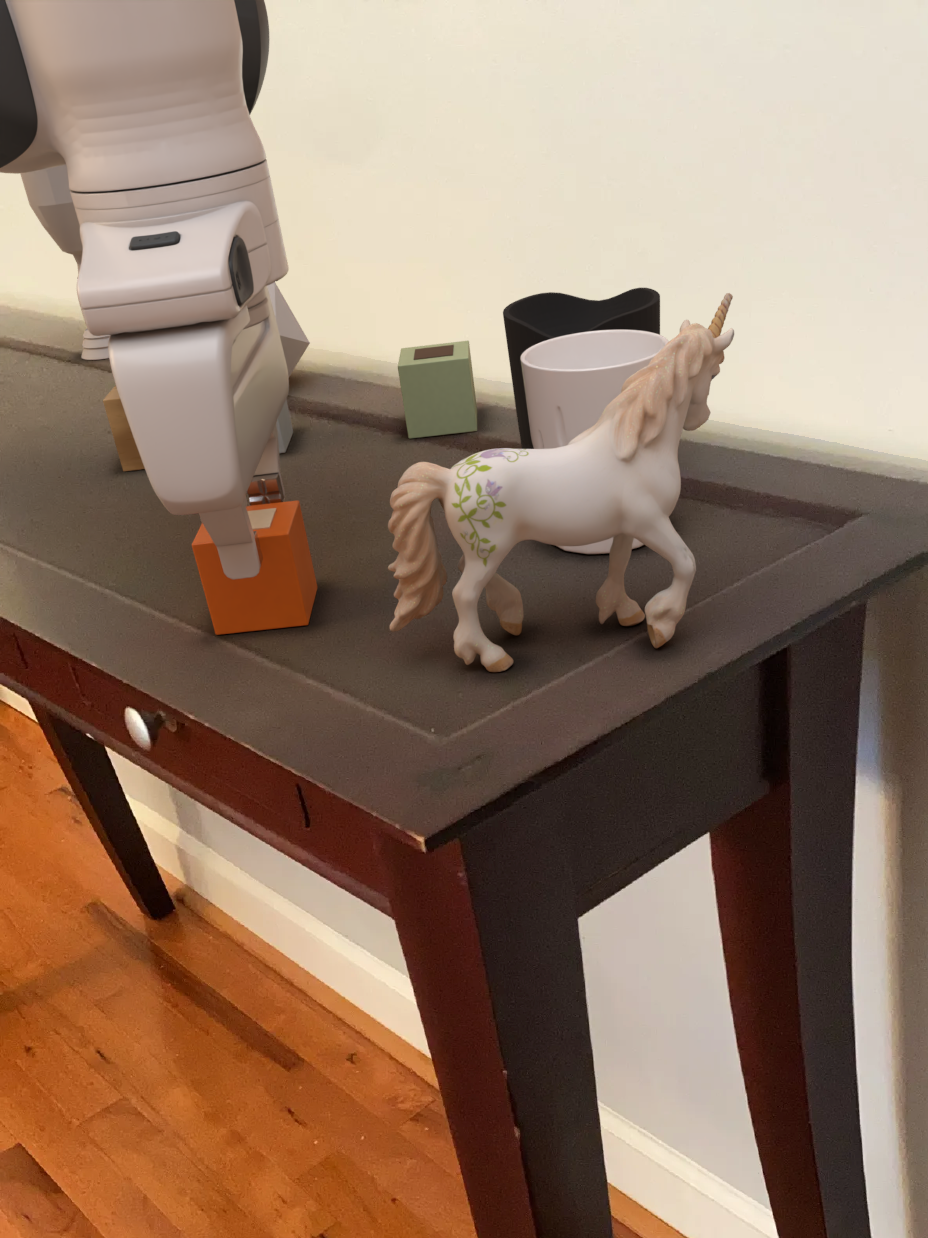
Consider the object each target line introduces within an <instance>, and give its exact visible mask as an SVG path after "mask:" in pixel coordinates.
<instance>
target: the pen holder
mask: <svg viewBox="0 0 928 1238" xmlns="http://www.w3.org/2000/svg"><path fill="white" fill-rule="evenodd" d="M502 316H503V323H504V332H505V339H506V345H507V346H506V347H507V354H508V361H509V367H510V375H511V383H512V384H511V385H512V390H513V398H514V404H515V411H516V421H517V426H518V434H519V439H520V448H521V449H534V447H533V444H532V440H531V432H530V424H529V417H528V409H527V402H526V395H525V388H524V380H523V373H522V366H521V359H520V358H521V355H522V353H523V352H524V351H525V350H527V349H528V348H530V347H531V346H533V345H535V344H538V343H540V342H543V341H546V340H549V339H552V338H556V337H560V336H565V335H569V334H575V333H581V332H589V331H599V330H640V331H647V332H652V333H656V334H659V335H661V294H660V293H659V292H658V291H657V290H655V289H653V288H651V287H635V288H631V289H629V290H626V291H624V292H622V293H619V294H617V295H615V296H612V297H609V298H606V299H600V300H596V299H587V298H583V297H579V296H575V295H572V294H568V293H562V292H555V291H554V292H553V291H552V292H551V291H550V292H540V293H536V294H532V295H529V296H525V297H523V298H520V299H518V300H515V301H513V302H511V303H509V304H508V305H506V307H504V308H503V311H502Z"/></svg>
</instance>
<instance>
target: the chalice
mask: <svg viewBox="0 0 928 1238" xmlns="http://www.w3.org/2000/svg"><path fill="white" fill-rule="evenodd" d="M19 174H20V177H21V181H22V184H23V188H24V190H25V194H26V198H27V201H28V204H29V206H30V208H31V210H32V212H33V213H34V215H35V216H36V219H37V220H38V221H39V223H40V224H41V226H42V227H43V228H44V230H45V231H46V232H47V234H48V235H49V237H51V239H52V241H54V243H55V244H56V246H58V248H59V249H60V250H61V252H62V253H66V254H69V255H72V256H73V258H74V261H75V262H76V265H77V279H78V275H79V271H80V266H81V261H82V254H83V246H82V242H81V237H80V224H79V221H78V217H77V214H76V211H75V206H74V203H73V200H72V197H71V193H70V189H69V180H68V171H67V166H66V164H65V165H61V166H57V167H52V168H47V169H42V170H37V171H32V172H27V173H19ZM82 338H83V340H82V344H81V348H82V352H81V357H80V358H81V359H83V360H86V361H92V360H93V361H95V360H104V359H109V353H108V342H109V338H110V335H103V336H94V335H92V334H91V333H90V332H89V330H88V328H87V327H86V328H85V329H84V331H83V335H82Z"/></svg>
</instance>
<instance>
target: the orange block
mask: <svg viewBox="0 0 928 1238" xmlns="http://www.w3.org/2000/svg"><path fill="white" fill-rule="evenodd" d="M246 509H247V512H248V516H249V519H250V522H251V526H252V529H253V531H257V535H258V539H259V543H260V549H261V552H262V556H263V561H262V564H261V567H260V571H259V573H258V574H257V576H255V577H250V578H242V579H234V580H233V579H231V578H228V577H227V576H226V575H225V574H224V571H223V568H222V564H221V560H220V557H219V553H218V549H217V546H216V545H215V544H214V542H213V540H212V538H211V537H210V535H209V533H208V532H207V530H206V528H205V526H204V525H203V523H202V522H201V524H200V526H199V528H198V530H197V533H196V535H195V537H194V539H193V541H192V543H191V549H192V552H193V556H194V559H195V563H196V566H197V570H198V573H199V578H200V581H201V586H202V588H203V592H204V597H205V599H206V605H207V607H208V611H209V615H210V619H211V621H212V626H213V631H214V634H215V635H216V636H221V635H228V634H238V633H248V632H257V631H265V630H266V631H267V630H277V629H284V628H295V627H303V626H308V625H309V622H310V620H311V619H310V618H311V616H312V615H311V614H312V611H313V606H314V603H315V599H316V595H317V591H318V584H317V579H316V573H315V569H314V565H313V564H314V563H313V560H312V554H311V550H310V545H309V540H308V536H307V530H306V526H305V522H304V517H303V511H302V507H301V503H300V500H289V501H283V502H279V503H270V504H262V505H253V506H250V505H247V507H246Z"/></svg>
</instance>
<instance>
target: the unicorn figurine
mask: <svg viewBox="0 0 928 1238" xmlns="http://www.w3.org/2000/svg"><path fill="white" fill-rule="evenodd" d="M733 297H734V296H733V294H732V293H730V292H727V293H725V294H724V296H723V299H722V300H721V301H720V305H719V306H718V307H717V310H716V312H715V313H714V317H713V318H712V319H711V321H710V324H709V326H708V327H707V328H706V327H705V326H704V325H702V324H700V323H697V322H695V323H691V322H690V320H689V319H687V318H686V319H685V320H683V321H682V323H681V324H680V327H679V333H678V335H676V336H675V337H673V338H672V339H671V340H668V341H669V342H668V343H667V344H666V345H665V346H664V348H663V349H662V350H661V351H660V352H659V353H657V354H656V355H655V356H654V358H653V359H652V360H651V361H650V363H649V364H648V366H646V367H644V368H642V369H640V370H639V371H637V372H636V373H634V374H633V375H631V376H630V377H629V378H628V379H627V380H626V381H625V382H624V384H623V386H622V389H621V394H620V395H618V396H617V397H616V398H615V399H614V400H612V401H611V402H610V403H609V404H608V405H607V406H606V408H605V409H604V411H603V413H602V415H601V417H600V418H599V420H598V421H597V423H596V424H595V425H594V426H592V427H591V428H589V429H587V430H586V431H584V432H582V433H581V434H579V435H578V436H577V437H575V438H574V439H573V440H571V441H570V442H569V444H568V445H567V446H563V447H558V448H552V449H522V448H511V447H501V448H499V447H498V448H496V447H495V448H491V449H490V448H489V449H485V450H482V451H478V452H475V453H473V454H471V455H469V456H467V457H465V458H463V459H461V460H459V461H458V462H456V463H455V464H454V465H452V466H451V467H450V468H447V467H444V466H441V465H439V464H436V463H432V462H428V461H419V462H416V463H414V464H412V465H410V466H409V467H408V468H407V469H406V470H405V471H404V472H403V474H402V475H401V477H400V478H399V480H398V482H397V488H395V489H394V490H393V491H392V492H391V495H390V499H389V505H390V507H391V508H392V510H393V511H392V514H391V518H390V519H389V520H388V523H387V528H388V531H389V533H391V534H392V535H393V536H394V540H393V542H392V549H393V550H394V551H396V552H398V554H397V557H396V559H395V560H394V562H391V563H390V564H389V565H388V567H387V570H388V571H390V572H393V578H394V579H395V580H398V584H397V586H396V588H395V590H394V592H393V597H394V598H395V599H396V600H398V602H397V605H396V607H395V609H394V612H393V614H394V618H393V620H391V622H390V624H389V630H390V631H391V632H392V633H395V632H400V631H401V630H402V629H403V628H405V627H406V626H407V625H408V624H410V623H411V622H412V621H413V620H414V619H415V620H420V619H422V618H424V617H425V616H428V615H430V614H431V613H432V611H433V610H435V608H436V606H438V605H439V604H440V603H441V602H442V601H443V600H442V599H443V598H444V594H445V593H444V586H445V585H446V584H447V582H448V581H447V580H448V572H447V570H446V566H445V565H444V564H443V557H442V553H441V551H440V550H439V545H438V538H437V534H436V530H435V523H434V520H433V517H432V505H433V502H434V500H436V499H438V502H439V504H440V506H441V508H442V511H443V512H444V517H445V521H446V523H447V526H448V528H449V531H450V533H451V534H452V537H453V539H454V540H455V541H456V544H458V546H459V548H460V549H461V551H462V555H461V557H460V558H459V560H458V562H457V568H458V570H459V572H461V576H460V577H459V579H458V581H457V583H456V584H455V586H454V587H453V589H452V590H451V593H452V594H451V595H452V600H453V603H454V606H455V609H456V613H457V617H458V623H457V625H456V628H455V630H453V635H452V637H453V641H454V642H453V648H454V649H453V651H454V653H455V655H456V656H457V657H458V658H460V659H462V660H463V661H464V664H465V665H466V666H469V665H471V664H472V663H473V662H474V661H475V659H476V657H477V656H479V657H480V658H479V659H480V663H481V665H482V666H484V667H485V669H486V671H488V672H490V673H500V672H504V671H506V670H508V669H509V668H510V667H511V666H513V664H514V659H513V657H511V656H510V655H509V654H508V653H507V652H506V651H505V650H504V648H503V646H500V645H498V644H495V643H493V642H492V641H491V640H490V639H489V638H487V636H486V635H485V633H484V631H483V629H482V626H481V623H480V619H479V612H478V604H479V600H480V597H481V594H482V593H483V591H484V589H485V602H486V606H487V608H488V609H490V610H491V611H492V612H495V613H496V616H497V618H498V619H499V625H500V627H501V628H502V629H503V630H505V631H506V632H507V633H509V634H510V635H513V636H519V635H521V633H522V631H523V630H522V628H523V620H524V605H523V600H522V595H521V592H520V590H519V589H518V588H517V587H516V586H515V585H514V584H512V583H510V582H509V581H508V580H506V579H505V578H504V577H502V576H501V575H500V574H498V572H497V571H498V569H499V567H500V566H501V564H502V562H503V561H504V560H505V559H506V557H507V556H508V555H509V553H510V552H511V551H512V550H513V549H514V547H515V546H516V545H517V544H518V543H520V542H523V541H535V542H539V543H542V544H546V545H551V546H555V545H556V547H557V546H583V545H588V544H593V543H597V542H601V541H604V540H608V539H610V538H612V537H613V543H612V546H611V549H610V553H609V556H608V557H609V562H608V573H607V576H606V578H605V579H604V581H603V583H602V584H601V586H600V587H599V588H598V590H597V591H596V596H595V603H596V606H597V607H598V610H599V612H598V622H599V623H600V624H601V625H604V623H605V622H606V620H607V619H609V618H610V617H611V616H612V615H613V614H614V613H615V614H616V617H617V620H618V623H619V625H621V626H623V627H632V626H635V625H638V624H640V623H642V622H643V621H644V620H645V619H646V627H647V633H648V636H649V639H650V643H651V645H652V646H653V647H654V648H655V649H658V648H660V647H662V646H663V645H664V644H666V643H667V642H669V641H670V640H671V639H672V638H673V636H674V635H675V632H676V628H677V627H676V626H677V624H678V623H680V621H681V619H682V618H683V616H684V615H685V612H686V608H687V601H688V595H689V592H690V589H691V587H692V584H693V581H694V578H695V575H696V571H697V564H696V559H695V556H694V554H693V552H692V551H691V550H690V548H689V546H687V544H686V543H685V541H684V540H683V538H682V536H680V534H679V533H678V532H677V531H676V528H675V527H674V525H673V524H672V522H671V519H670V516H671V515H672V513H673V511H674V510H675V508H676V505H677V503H678V501H679V498H680V496H681V495H680V494H681V489H682V488H681V487H682V479H681V470H680V463H679V459H678V458H679V446H680V441H681V437H682V434H683V430H684V431H688V432H690V431H691V432H692V431H695V430H697V429H699V428H700V427H701V426H703V425H705V424H706V422H707V421H708V420H709V418H710V415H711V410H710V407H709V406H708V397H709V395H710V389H711V383H712V380H713V379H715V378H716V377H717V376H718V375H719V374H720V373H721V367H720V365H721V364H723V363H724V362H725V361H724V360H725V352H724V350H726V349H727V348H729V346H730V345H731V344H732V342H733V340H734V337H735V330H734V329H733V328H732V327H731V328H729V329H728V330H726V332H724V333H722V329H723V327H724V326H725V325H724V324H725V321H726V318H727V315H728V312H729V309H730V306H731V304H732V300H733ZM721 333H722V334H721ZM634 538H635V539H637V540H638V541H640V542H641V543H643V544H644V545H643V546H646V547H647V548H649V549H650V550H652V552H655V553H657V554H658V555H659V556H660V557H662V558H663V559H665V560H666V561H667V562H669V564H670V565H671V568H672V572H673V578H672V582H671V584H670V585H669V587H667V588H665V589H663V590H661V591H658V592H657V593H655V594H654V595H653V597H651V598H650V599H649V600H648V601H647V603H646V604H645V607H644V611H643V609H641V607H640V605H639V603H638V602H637V601H636V600H634V599H631V598H630V597H629V596H628V594H627V592H626V588H625V574H626V570H627V568H628V565H629V563H630V562H629V561H630V558H631V556H632V550H633V549H632V543H633V539H634Z"/></svg>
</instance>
